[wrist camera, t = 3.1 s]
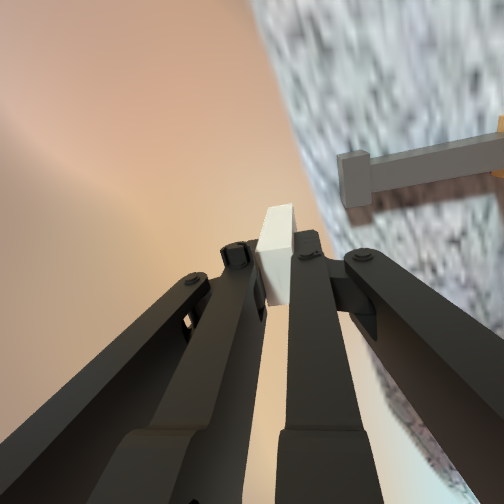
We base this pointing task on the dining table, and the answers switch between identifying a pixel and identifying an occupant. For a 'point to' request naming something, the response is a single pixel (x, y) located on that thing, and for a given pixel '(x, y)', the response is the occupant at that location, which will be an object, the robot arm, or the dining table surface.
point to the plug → (418, 166)
